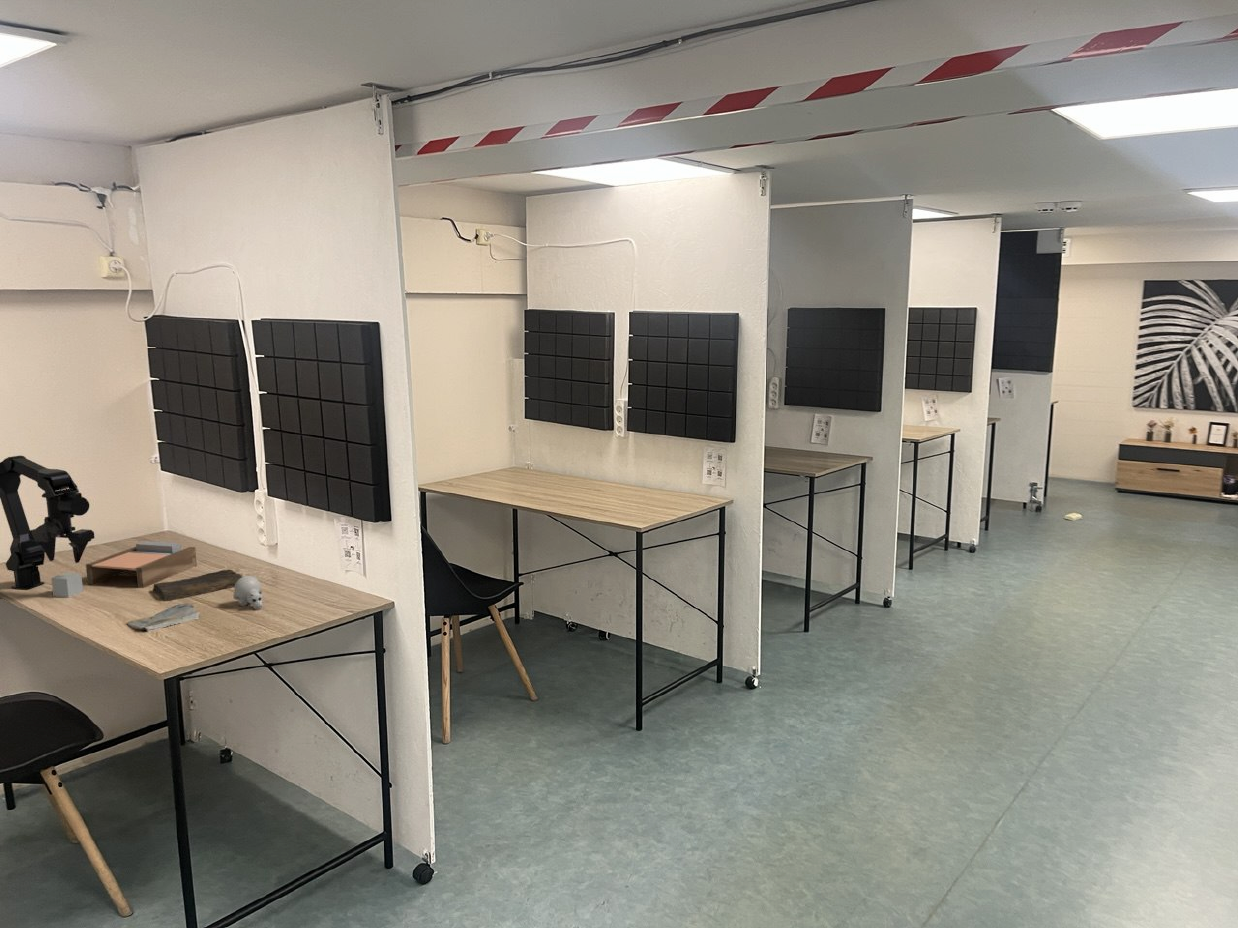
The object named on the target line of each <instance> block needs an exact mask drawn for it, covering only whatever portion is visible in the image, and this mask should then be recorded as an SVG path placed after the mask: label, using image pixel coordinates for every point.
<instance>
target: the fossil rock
mask: <svg viewBox="0 0 1238 928" xmlns="http://www.w3.org/2000/svg"><path fill="white" fill-rule="evenodd" d="M199 616H200V611H198V610H196V609H195V607H194V605H193V604H192V603H189V602H183V603H180V604H175V605H173V606H171V607H170V608H167V609H164V610H162V611H161V612H158V613H156V614H154V615H152V616H149V617H144V618H139V619H134V620H131V621H127V622H125V624H126V625H127V624H128V625H127V626H129V627H131V628H133V627H134V628H133V629H136V630H140V631H146V632H147V631H150V630H155V629H158V630H160V629H159V628H162V629H164V628H166V627H167V628H168V627H171V626H175V625H174V624H176V625H179V624H178V623H181V624H183V623H182V622H186V621H190V620H193V619H197V620H199ZM193 621H194V620H193ZM190 622H191V621H190ZM186 623H187V622H186ZM170 625H171V626H170ZM163 627H164V628H163ZM155 631H156V630H155ZM150 632H151V631H150Z"/></svg>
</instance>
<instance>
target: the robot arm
mask: <svg viewBox="0 0 1238 928" xmlns="http://www.w3.org/2000/svg"><path fill="white" fill-rule="evenodd" d="M21 476H23V477H26V478H28V479H30V480H32V481H35V482H36V484H37V487H38V488H39V489H41V490H42V491H44V492H43V493H42V495H41V497H42V498H44V499H45V502H46V509H47V510H46V511H47V516H44V520H43V521H44V522H43V523H42V524H40V525H39V526H37V527H35V528H33V529H31V528H30V525H29V522H28V519H27V516H26V513H25V509H24V507H23V503H22V500H21V498H20V493H19V491H18V490H19V487H20V485H21V483H22V479H21ZM82 495H83V494H82V493H81V492H80V490H79V488H78V485H77V484H76V483H75V481H74V480H73V478H72V477H71V475H70V473H69V472H68V471H66V470H63V469H58V468H57V469H56V468H47V467H45V466H43V465H41V464H39V463H37V462H35V461H32V460H30V459H28V458H27V457H26V456H24V455H21V454H20V455H14V456H7V457H5V458H4V459H3V460H2V461H0V502H1V505H2V509H3V512H4V515H5V517H6V521H7V523H8V527H9V529H10V533H11V534H10V535H11V536H12V537H11V538H12V542H11V545H10V546H9V552H10V556H9V558H8V559H7V561H6V563H5V566H6V570H7V571H10V572H11V571H12V572H13V577H14V585H11V587H10V588H11V589H19V590H29V589H33V588H35V587H36V588H37V587H39V586H41V585H44V584H45V581H41V575H40V573H41V572H40V571H39V566H43V565H44V563H45V555H46V557H47V558H48V561H50V562H54V560H55V557H56V555H55V554H56V544H57V542H56V541H57V538H59V539H60V538H61V539H62V538H64V539H68V541H69V543H68V545H69V546H70V547H71V548H72V551H73V558H74V559H73V560H74V562H75V564H78V563H80V561H81V558H82V556H83V554H84V552H85V549H86V547H87V545H88V544H89V542H92V540H93V539H95V531H93V530H92V529H84V528H83V529H79V530H76V527H75V526H73V525H72V518H74V517H75V516H79V517H81V516H84V515H85V514H87V513H88V511H89V509H90V502H89V500H88V499H87V498H86V497H83V496H82Z"/></svg>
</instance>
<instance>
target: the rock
mask: <svg viewBox="0 0 1238 928" xmlns="http://www.w3.org/2000/svg"><path fill="white" fill-rule="evenodd" d="M242 577H243V576H242V574H241V573H238V572H236V571H234V570H233V569H222V570H219V571H215V572H209V573H206V574H201V575H198V576H194V577H190V578H185V579H180V580H174V581H163V582H156V583H154V584H153V588H152V592H153V593H156V594H157V595H158V596H160V597H161V599H163V601H165V602H168V601H169V602H170V601H174V600H175V601H176V600H180V599H187V598H191V597H196V596H200V595H202V594H203V595H206V594H210V593H213V592H216V591H219V590H223V589H229V588H235V584H236V582H237V581H238V580H239V579H240V578H242Z"/></svg>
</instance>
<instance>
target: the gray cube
mask: <svg viewBox="0 0 1238 928" xmlns="http://www.w3.org/2000/svg"><path fill="white" fill-rule="evenodd" d="M82 578H83V577H82V573H79V572H78V573H77V572H76V573H75V572H63V573H62V574H59V575H56V576H54V577H50V579H51V587H52V594H53V597H55V598H56V597H57V598H71V597H74V596H77V595H80V594H81V593H84V587H83V579H82Z"/></svg>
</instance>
